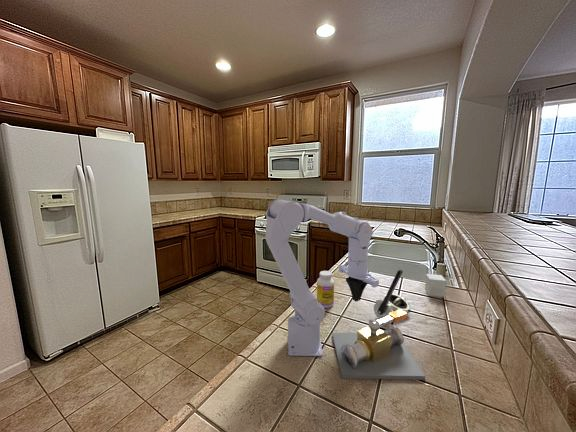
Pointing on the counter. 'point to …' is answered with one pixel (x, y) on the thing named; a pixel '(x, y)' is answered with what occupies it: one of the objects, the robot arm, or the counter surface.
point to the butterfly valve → (391, 301)
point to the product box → (435, 285)
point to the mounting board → (378, 362)
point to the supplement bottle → (325, 289)
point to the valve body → (371, 345)
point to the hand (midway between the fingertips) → (356, 299)
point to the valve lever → (387, 319)
